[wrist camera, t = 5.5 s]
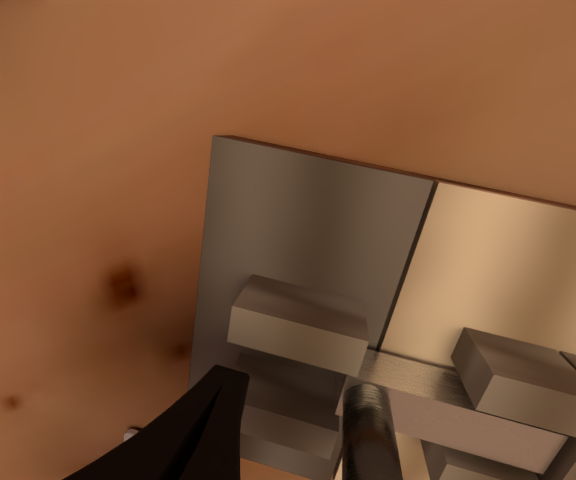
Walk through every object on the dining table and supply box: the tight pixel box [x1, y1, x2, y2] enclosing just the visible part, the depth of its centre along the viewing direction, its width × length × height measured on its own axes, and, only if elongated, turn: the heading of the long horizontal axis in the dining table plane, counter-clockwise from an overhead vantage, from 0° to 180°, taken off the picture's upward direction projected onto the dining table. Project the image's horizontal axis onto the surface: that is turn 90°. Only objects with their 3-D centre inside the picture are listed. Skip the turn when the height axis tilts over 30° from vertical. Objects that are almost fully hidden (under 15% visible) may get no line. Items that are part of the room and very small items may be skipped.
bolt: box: [335, 349, 568, 480], centre depth 11 cm, size 8×2×6 cm, turn 80°
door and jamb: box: [188, 136, 576, 480], centre depth 14 cm, size 18×17×5 cm
